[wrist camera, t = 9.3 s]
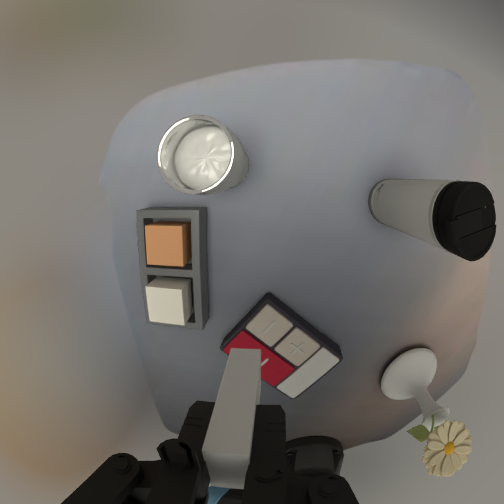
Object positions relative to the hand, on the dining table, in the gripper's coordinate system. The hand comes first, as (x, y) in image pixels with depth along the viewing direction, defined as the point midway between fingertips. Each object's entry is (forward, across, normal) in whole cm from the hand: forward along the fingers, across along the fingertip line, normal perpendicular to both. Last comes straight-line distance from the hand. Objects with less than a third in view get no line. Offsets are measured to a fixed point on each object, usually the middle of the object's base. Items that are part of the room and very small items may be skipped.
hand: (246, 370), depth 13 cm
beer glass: (+25, +5, -12) cm, 28 cm away
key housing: (+25, +12, +1) cm, 28 cm away
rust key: (+24, +12, -3) cm, 27 cm away
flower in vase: (+26, -25, +20) cm, 41 cm away
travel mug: (+25, -17, -8) cm, 31 cm away
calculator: (+26, -3, +14) cm, 29 cm away
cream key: (+23, +12, +5) cm, 26 cm away
